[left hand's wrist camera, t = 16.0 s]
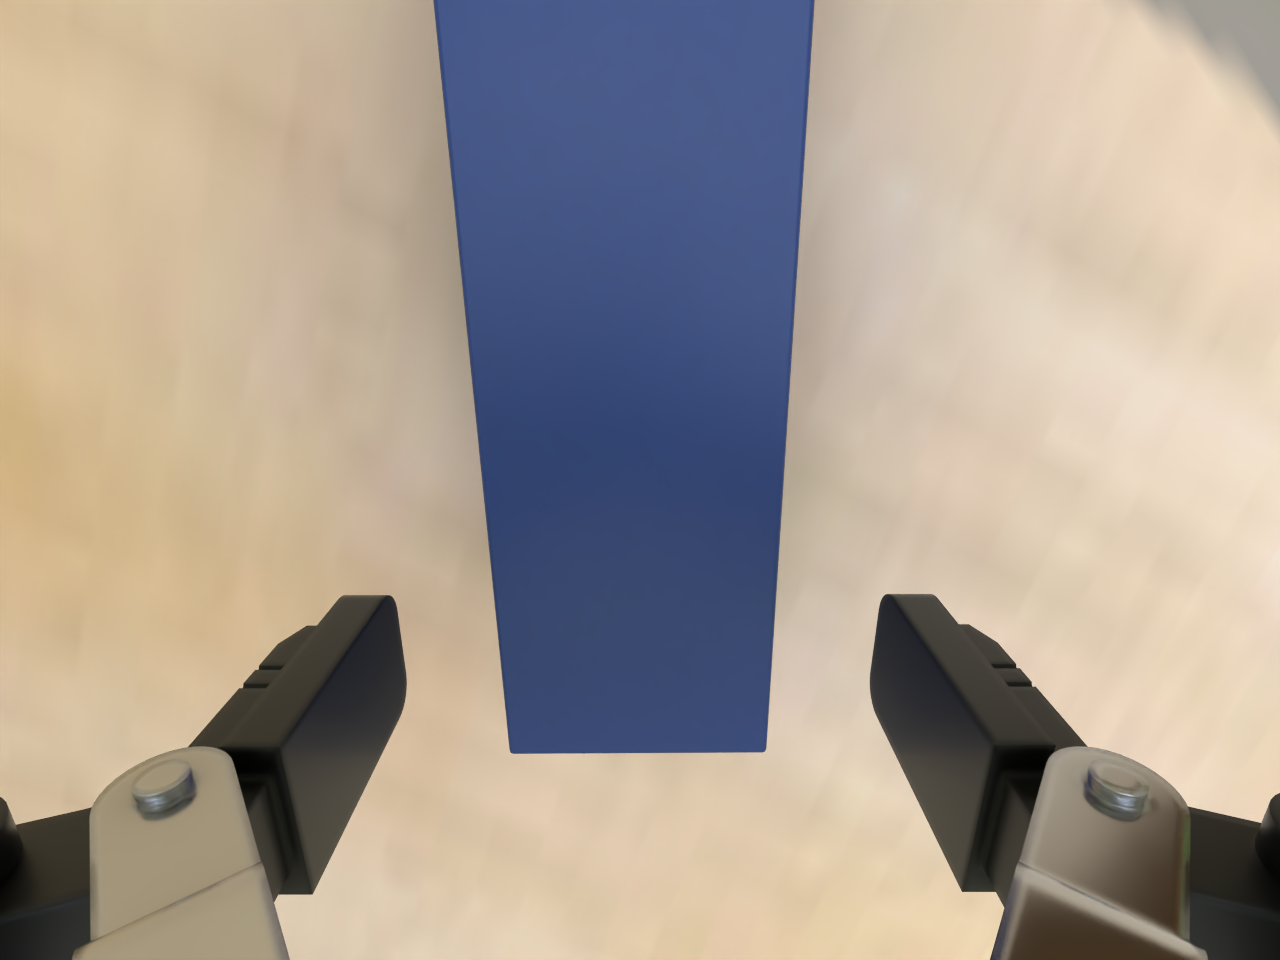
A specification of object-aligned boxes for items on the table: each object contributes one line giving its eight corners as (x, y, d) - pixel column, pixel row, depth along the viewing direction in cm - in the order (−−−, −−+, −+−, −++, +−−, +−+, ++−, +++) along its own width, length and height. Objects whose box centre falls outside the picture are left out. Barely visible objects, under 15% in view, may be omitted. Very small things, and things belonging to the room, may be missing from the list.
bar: (725, 571, 22) (766, 754, 14) (555, 573, 22) (509, 755, 14) (763, -541, 13) (914, -1514, 6) (483, -533, 13) (280, -1484, 6)
